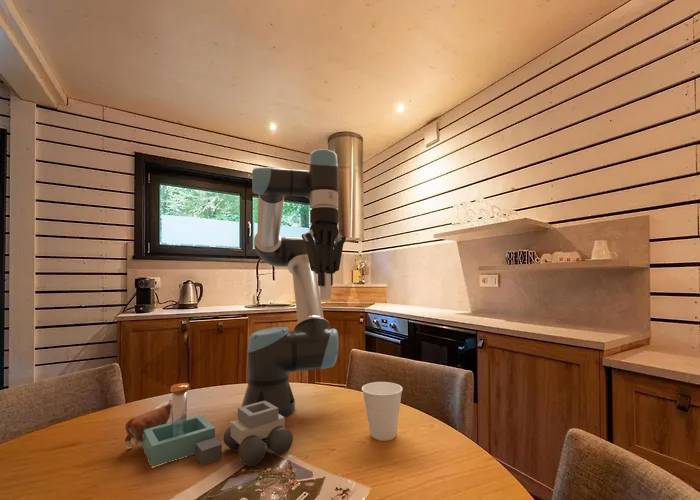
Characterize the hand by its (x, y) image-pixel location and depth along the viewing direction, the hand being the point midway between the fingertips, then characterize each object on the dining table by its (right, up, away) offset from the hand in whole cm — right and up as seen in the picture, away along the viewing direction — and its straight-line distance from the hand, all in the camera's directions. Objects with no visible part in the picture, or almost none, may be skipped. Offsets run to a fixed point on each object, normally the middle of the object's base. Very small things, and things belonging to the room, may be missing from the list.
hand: (325, 299), depth 85 cm
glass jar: (-33, -31, -10) cm, 46 cm away
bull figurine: (-41, -33, -6) cm, 53 cm away
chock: (-24, -32, -14) cm, 42 cm away
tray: (-32, -32, -10) cm, 47 cm away
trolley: (-14, -32, -12) cm, 37 cm away
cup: (+14, -32, -6) cm, 35 cm away
